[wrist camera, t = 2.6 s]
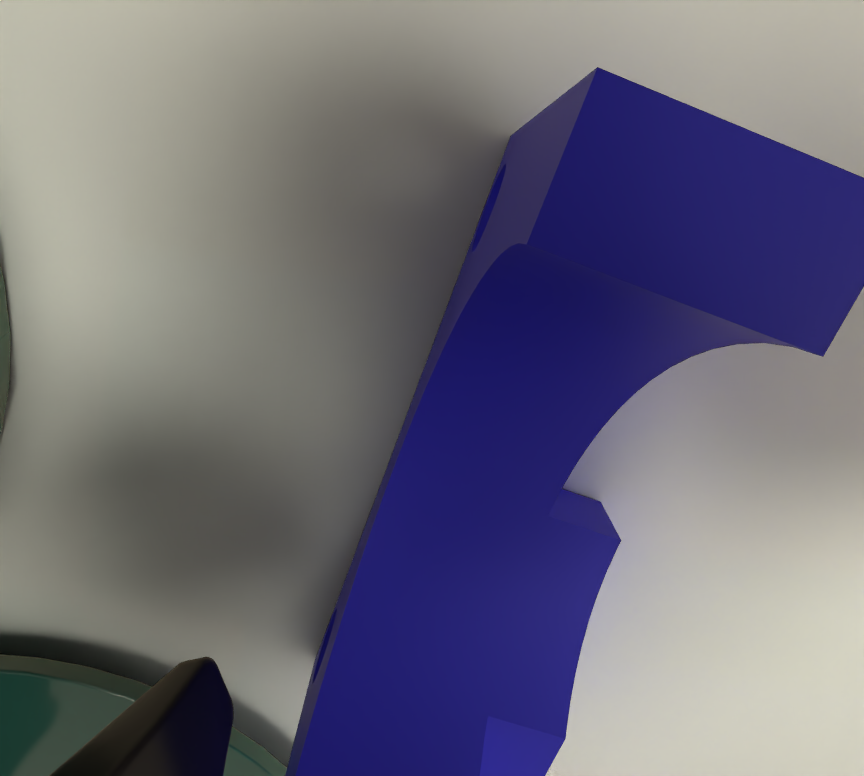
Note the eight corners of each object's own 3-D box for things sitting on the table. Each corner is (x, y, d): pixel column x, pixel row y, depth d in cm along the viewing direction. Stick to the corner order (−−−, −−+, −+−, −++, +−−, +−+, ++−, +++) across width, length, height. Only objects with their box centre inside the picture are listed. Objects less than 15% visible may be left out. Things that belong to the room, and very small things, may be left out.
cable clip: (495, 712, 15) (533, 1047, 9) (315, 659, 14) (232, 975, 8) (738, 226, 11) (1059, 258, 5) (510, 136, 11) (597, 66, 5)
